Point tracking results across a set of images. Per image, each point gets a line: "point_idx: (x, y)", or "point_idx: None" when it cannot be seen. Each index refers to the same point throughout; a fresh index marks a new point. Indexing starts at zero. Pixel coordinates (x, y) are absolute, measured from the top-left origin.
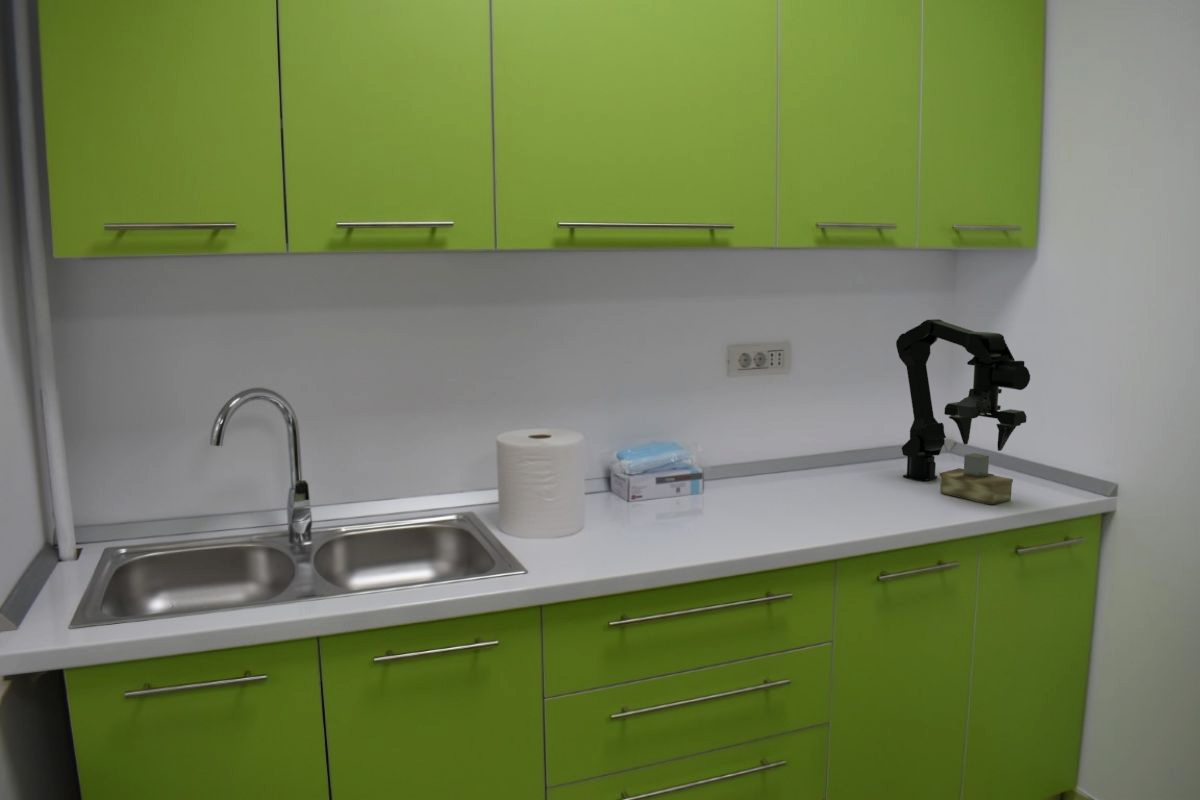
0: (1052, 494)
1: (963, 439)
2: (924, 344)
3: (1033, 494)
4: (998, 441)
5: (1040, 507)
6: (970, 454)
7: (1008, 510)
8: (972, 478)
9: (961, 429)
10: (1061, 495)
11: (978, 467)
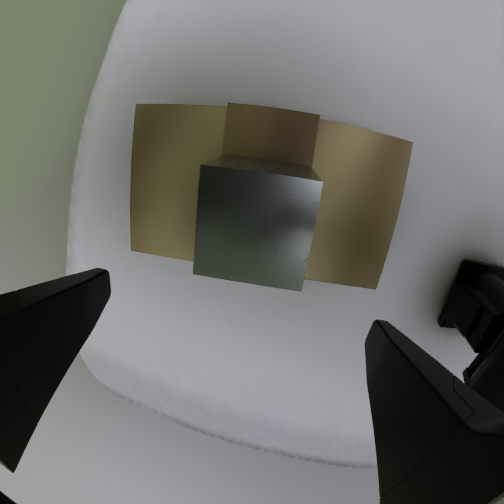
0: (139, 348)
1: (398, 336)
2: None
3: (164, 326)
4: (57, 289)
5: (85, 208)
6: (301, 234)
7: (119, 106)
8: (245, 126)
9: (448, 389)
10: (124, 350)
11: (219, 159)
